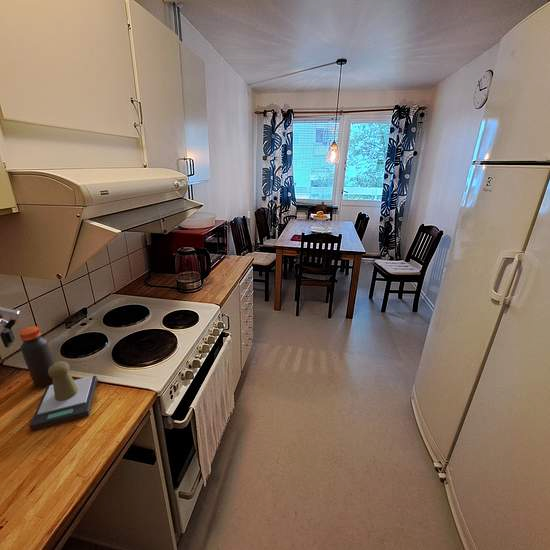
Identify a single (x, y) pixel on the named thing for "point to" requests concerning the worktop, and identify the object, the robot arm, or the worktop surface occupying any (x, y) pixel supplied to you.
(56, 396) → the cork
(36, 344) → the bottle
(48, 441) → the worktop surface
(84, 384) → the scale
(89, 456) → the worktop surface
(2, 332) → the robot arm
